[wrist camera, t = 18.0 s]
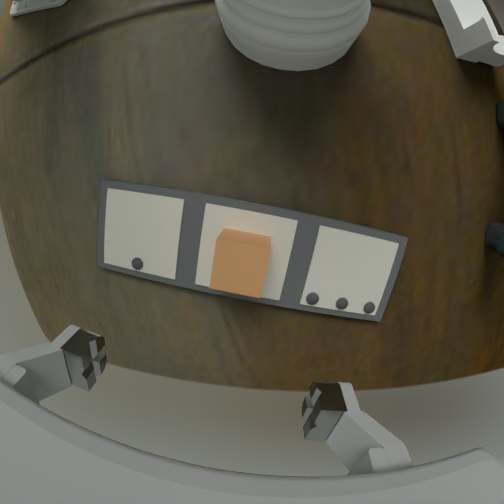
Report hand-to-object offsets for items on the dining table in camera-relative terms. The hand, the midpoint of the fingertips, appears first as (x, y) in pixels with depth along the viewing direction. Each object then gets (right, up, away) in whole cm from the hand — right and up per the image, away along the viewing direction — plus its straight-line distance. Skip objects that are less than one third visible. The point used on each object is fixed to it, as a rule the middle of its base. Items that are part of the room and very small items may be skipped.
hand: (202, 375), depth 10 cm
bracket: (+27, +33, +7) cm, 43 cm away
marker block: (+1, +4, +15) cm, 16 cm away
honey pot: (+5, +27, +10) cm, 29 cm away
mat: (+1, +5, +16) cm, 17 cm away
